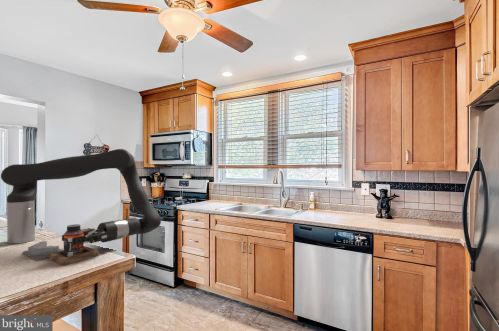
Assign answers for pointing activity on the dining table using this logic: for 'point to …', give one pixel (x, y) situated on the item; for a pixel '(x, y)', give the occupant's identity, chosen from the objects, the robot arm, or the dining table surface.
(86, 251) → the frame
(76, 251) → the supplement bottle
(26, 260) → the dining table surface
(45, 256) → the metal v block
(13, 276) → the dining table surface
